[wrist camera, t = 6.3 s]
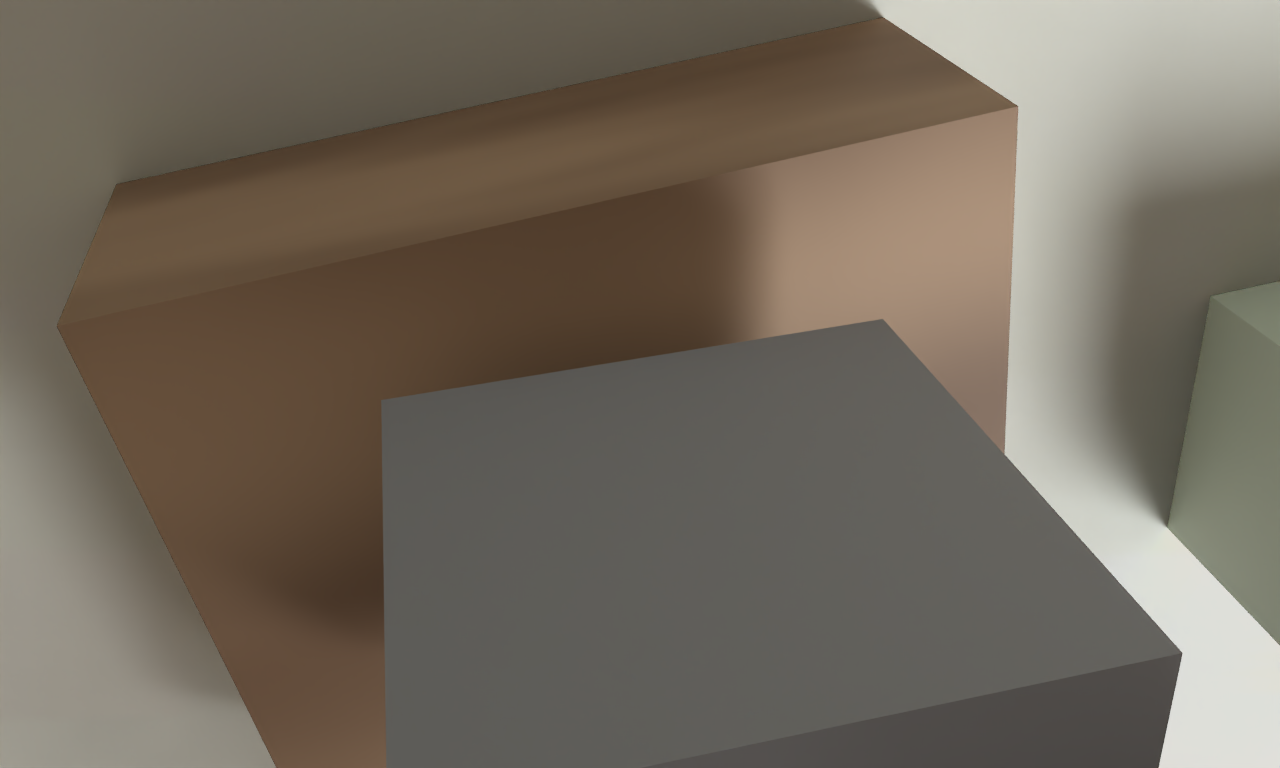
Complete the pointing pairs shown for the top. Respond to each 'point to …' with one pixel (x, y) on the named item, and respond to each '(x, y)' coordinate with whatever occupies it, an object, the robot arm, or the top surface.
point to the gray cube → (745, 575)
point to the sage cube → (1236, 452)
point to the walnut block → (510, 305)
